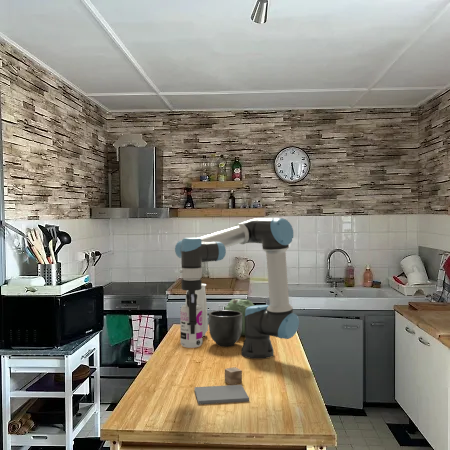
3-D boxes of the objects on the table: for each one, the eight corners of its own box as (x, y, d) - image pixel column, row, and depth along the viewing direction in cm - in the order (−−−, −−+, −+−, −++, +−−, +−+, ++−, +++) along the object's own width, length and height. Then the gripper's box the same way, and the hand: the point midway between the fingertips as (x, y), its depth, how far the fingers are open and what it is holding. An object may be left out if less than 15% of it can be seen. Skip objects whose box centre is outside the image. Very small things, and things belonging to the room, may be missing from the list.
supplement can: (205, 343, 191) (205, 304, 190) (196, 349, 183) (196, 308, 183) (186, 341, 194) (186, 303, 193) (176, 347, 186) (176, 306, 186)
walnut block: (235, 379, 201) (235, 367, 201) (241, 383, 196) (241, 370, 196) (224, 381, 198) (224, 368, 198) (230, 385, 194) (230, 372, 194)
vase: (197, 332, 280) (197, 282, 280) (212, 336, 271) (212, 284, 270) (179, 335, 272) (179, 284, 271) (194, 340, 262) (194, 287, 261)
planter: (247, 347, 248) (247, 315, 247) (213, 350, 243) (213, 317, 243) (236, 339, 264) (236, 309, 264) (204, 341, 259) (204, 311, 259)
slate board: (241, 387, 191) (241, 384, 191) (249, 401, 177) (249, 398, 177) (194, 390, 188) (194, 387, 188) (198, 404, 174) (198, 400, 174)
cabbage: (259, 338, 266) (259, 301, 266) (224, 338, 267) (224, 300, 266) (258, 331, 282) (258, 296, 281) (224, 331, 282) (224, 296, 282)
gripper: (180, 275, 198) (180, 332, 198) (182, 283, 177) (183, 347, 177) (199, 275, 199) (199, 332, 199) (203, 282, 178) (204, 346, 178)
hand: (191, 339), depth 188 cm, fingers closed on supplement can, 8 cm apart
